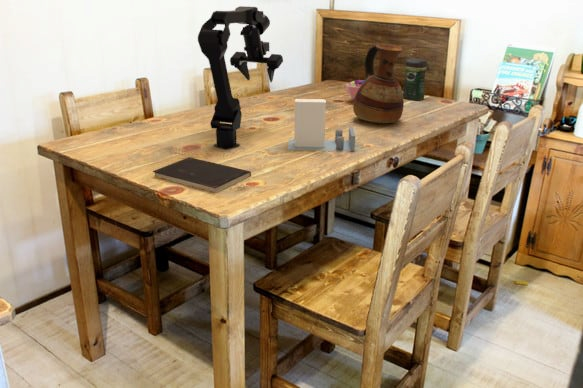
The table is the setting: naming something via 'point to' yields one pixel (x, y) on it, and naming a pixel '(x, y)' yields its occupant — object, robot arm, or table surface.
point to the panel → (309, 122)
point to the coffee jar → (414, 79)
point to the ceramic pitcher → (380, 88)
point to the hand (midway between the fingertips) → (260, 80)
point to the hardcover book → (202, 174)
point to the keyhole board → (331, 143)
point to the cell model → (353, 87)
